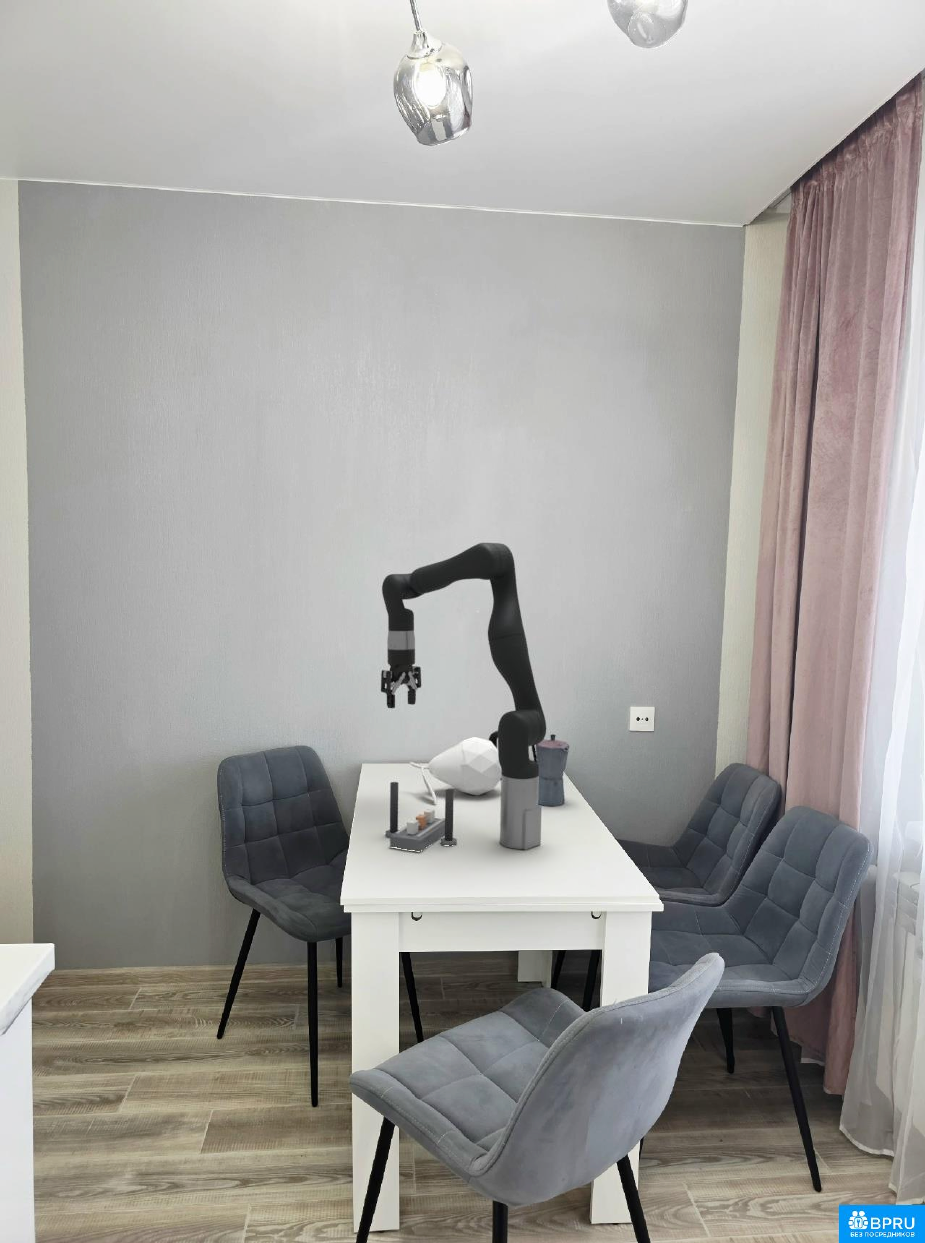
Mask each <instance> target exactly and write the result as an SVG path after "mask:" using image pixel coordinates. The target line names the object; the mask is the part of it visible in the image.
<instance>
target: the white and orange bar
mask: <svg viewBox="0 0 925 1243" xmlns="http://www.w3.org/2000/svg"><path fill="white" fill-rule="evenodd" d="M435 813H436V810H435V809H431V808H428V809H426V810H425V811H423V813H422V814H418V815H416V816H415V819H410V820H408V821H406V826H407V834H412V835H414V834H415V833H417V832H418V828H419V829H423V828H424V827H426V826H427V823H432V822H433V821H435V818H436V816H435Z"/></svg>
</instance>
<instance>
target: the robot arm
mask: <svg viewBox="0 0 925 1243" xmlns="http://www.w3.org/2000/svg"><path fill="white" fill-rule="evenodd" d="M515 565H516V564H515V559H514V555H513V553H512V551H511V548H509V547H508V545H505V544H504V543H500V542H499V543H497V542H480V543H476V544H474V545H473V546H471V547H469V548H466V550H464V551H462V552H460V553H458V554H457V555H454V556H452V557H449V558H447V559H444V560H441V561H437V562H435V563H431V564H427V565H425V566H421V567H418V568H416V569H414V570H413V571H412V572H411V573H410V572H409V573H391V574H388V575H387V576H385V578H384V579H383V582H382V586H381V592H382V598H383V601H384V605H385V610H386V613H387V618H388V619H387V621H388V627H387V628H388V631H387V632H388V633H387V642H386V643H387V644H386V645H387V664H388V665H389V670H385V669H382V670H381V673H380V677H381V678H380V692H381V693H384V694H385V695H386V707H387V708H388V709H395V708H396V692H397V689H398V688H400V686H402V685H405V687H406V688H407V705H416V701H417V697H416V696H417V695H416V694H417V691H418V689H421V688H422V669H421V666H418V665H415V664H416V636H415V615H414V614H415V613H414V612H413V610H412V609H409V608H407V607H405V604H404V600H405V601H406V600H412V599H416V598H419V597H421V596H423V595H425V594H428V593H432V592H436V591H439V590H442V589H445V588H447V587H449V586H450V585H451V584H453V583H455V582H459V581H462V580H481V581H489V582H490V586H491V590H492V591H491V592H492V598H493V600H492V601H493V602H492V603H493V604H492V609H491V610H492V611H491V615H490V618H489V623H488V626H487V627H488V628H487V640H488V646H489V651H490V655H491V656H490V657H491V659H492V662H493V664H494V666H495V667H496V670H497V671H498V672H499V674H500V676H501V677H502V678H503V680H504V681H505V683H506V684H507V686H508V688H509V689H510V692H511V694H512V697H513V698H512V699H513V703H514V709H515V710H511V711H507V712H505V713H504V714H502V716H501V717H500V719H499V722H498V727H497V731H498V738H497V749H498V758H499V763H500V766H501V779H500V781H501V782H500V814H499V815H500V821H499V823H500V824H499V827H500V828H499V843H500V845H501V846H503V847H506V848H509V849H517V850H518V849H519V850H521V849H522V850H527V851H528V850H529V849H532V848H534V847H537V846H539V845H541V844H542V843H541V842H542V841H541V840H542V810H543V809H542V808H543V807H542V805H539V804H538V790H539V765H538V763H536V762H535V761H534V760H532V759H530V753H529V752H530V751H529V749H530V748H529V747H532V745H535V746H536V744H539V743H540V742H542V740H543V739H545V737H546V735H547V734H546V733H547V721H546V716H545V713H544V711H543V707H542V704H541V700H540V697H539V694H538V690H537V687H536V683H535V679H534V678H535V677H534V674H533V669H532V664H531V660H530V656H529V647H528V643H527V637H526V633H525V629H524V625H523V618H522V614H521V606H520V602H519V596H518V594H519V593H518V587H517V577H516V574H517V573H516V566H515ZM414 665H415V666H414Z"/></svg>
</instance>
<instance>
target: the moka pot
mask: <svg viewBox="0 0 925 1243" xmlns="http://www.w3.org/2000/svg"><path fill="white" fill-rule="evenodd" d="M549 736H550V739H545V738H544V739H543V740H542V742H540V743H539V744H536V745H532V746H531V751H532V755H533V761H535V762H536V763H538V765H539V790H538V805H539V806H545V807H559V806H563V805H564V804H565V790H564V777H563V776H564V771H565V770H566V766H567V761H568V756H569V755H568V754H569V752H570V745H569V743H567V742H566V741H563V740H558V739H556V734H554V733H553V734H549Z"/></svg>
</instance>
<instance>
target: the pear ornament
mask: <svg viewBox="0 0 925 1243" xmlns="http://www.w3.org/2000/svg"><path fill="white" fill-rule="evenodd" d="M409 764H410V765H411V766H412V767H415V768H418V769H421V774H422V779H423V782H424V784H425V786H426V789H427V790H428V792H429V793H430V795H431V796H432V799H433V803H434V805H438V802H437V801H438V800H437V796H436V793H435V791H434V789H433V788H432V785H431V784H430V782H429V780H428V778H427V776H426V773H425V770H428V771H429V773H430V774H431V776H432V777H433V778H435V779H437V780H439V781H441V782H442V783H445V784H446V785H448V786H451V787H453V788H457V790H459V791H460V792H461V793H462V792H463V793H465V794H470V795H473V796H481V795H482V794H485V793H488V792H490V791H492V790H494V789H495V787H496V786H497V785H498V784H499V782H500V781H501V766H500V763H499V758H498V747H497V748H496V747H495V746H494V744H493V743H492V742H491V741H489V739H488V740H487V739H484V738H481V737H476V736H473V737H469V738H467V739H464V740H461V741H459V743H458V744H456V745H455V746H452V747H450V748H448V749H446V750H444V751H442V752H441V753H439V754H437V755H436V756H435V757H433V758H431V760H430V761H429V763H428V765H421V764H417V763H415V762H414V761H410V762H409Z"/></svg>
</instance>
